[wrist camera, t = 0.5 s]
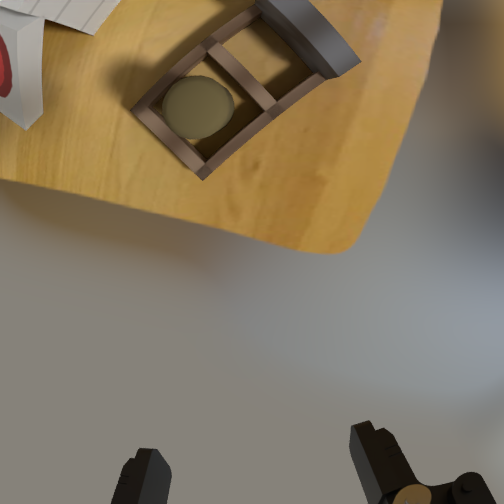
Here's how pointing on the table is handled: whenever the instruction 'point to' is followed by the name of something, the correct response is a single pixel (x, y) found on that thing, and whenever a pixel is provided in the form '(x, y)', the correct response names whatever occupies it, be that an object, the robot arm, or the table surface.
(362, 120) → the table surface
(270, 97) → the divided wooden tray frame
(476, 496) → the robot arm
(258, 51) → the table surface
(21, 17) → the pizza boxes
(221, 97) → the cork
